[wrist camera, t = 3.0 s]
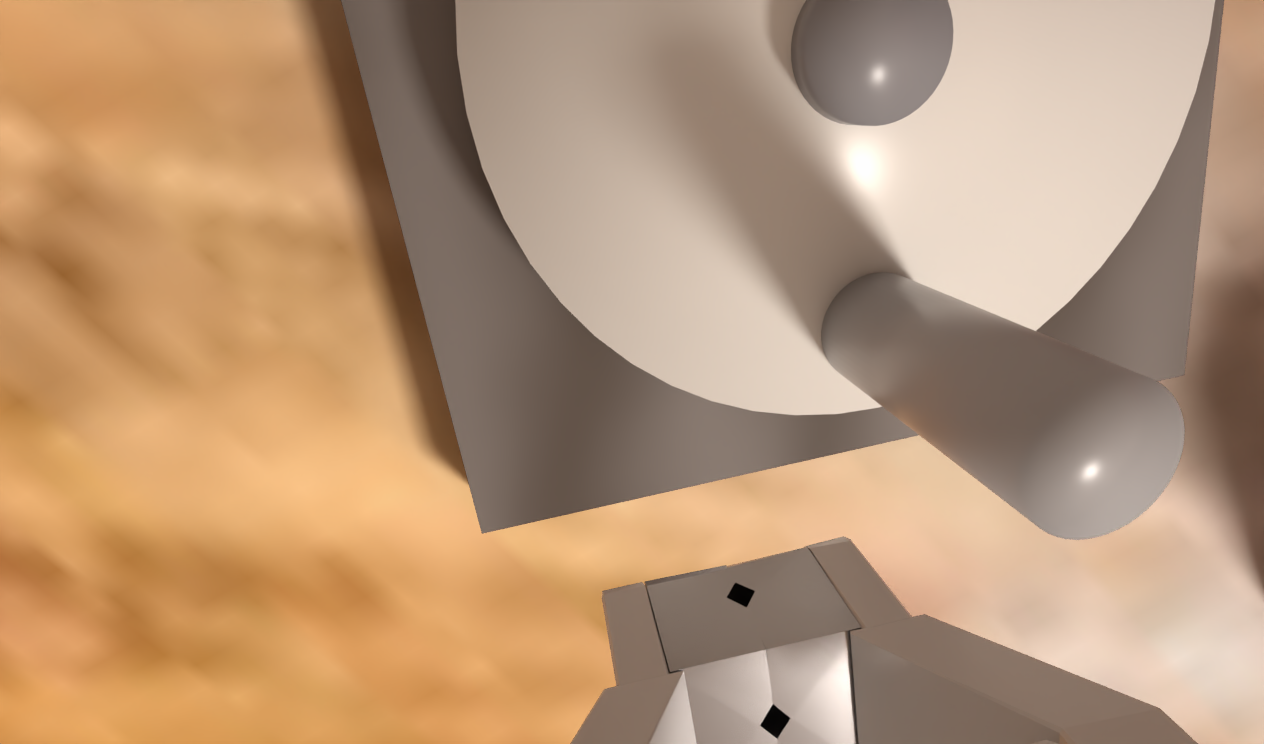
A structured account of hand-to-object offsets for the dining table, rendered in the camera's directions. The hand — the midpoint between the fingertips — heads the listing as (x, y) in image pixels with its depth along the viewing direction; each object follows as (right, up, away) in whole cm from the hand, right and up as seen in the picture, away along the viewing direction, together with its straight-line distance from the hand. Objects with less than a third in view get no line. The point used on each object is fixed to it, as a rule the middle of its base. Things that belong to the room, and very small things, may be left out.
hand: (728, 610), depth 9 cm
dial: (+3, +10, +8) cm, 13 cm away
